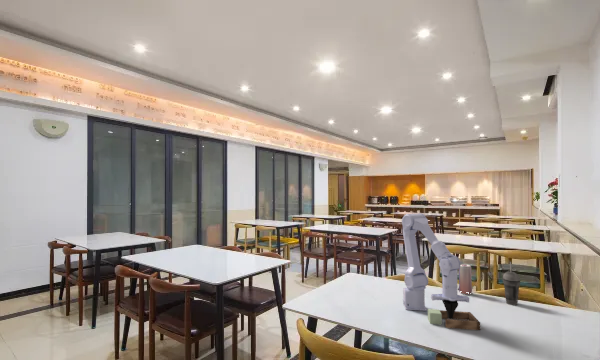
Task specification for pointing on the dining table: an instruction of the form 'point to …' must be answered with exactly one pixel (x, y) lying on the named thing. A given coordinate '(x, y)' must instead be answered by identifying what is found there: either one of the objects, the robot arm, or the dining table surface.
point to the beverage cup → (511, 287)
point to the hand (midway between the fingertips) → (450, 318)
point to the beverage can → (465, 279)
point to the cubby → (461, 320)
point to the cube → (434, 316)
